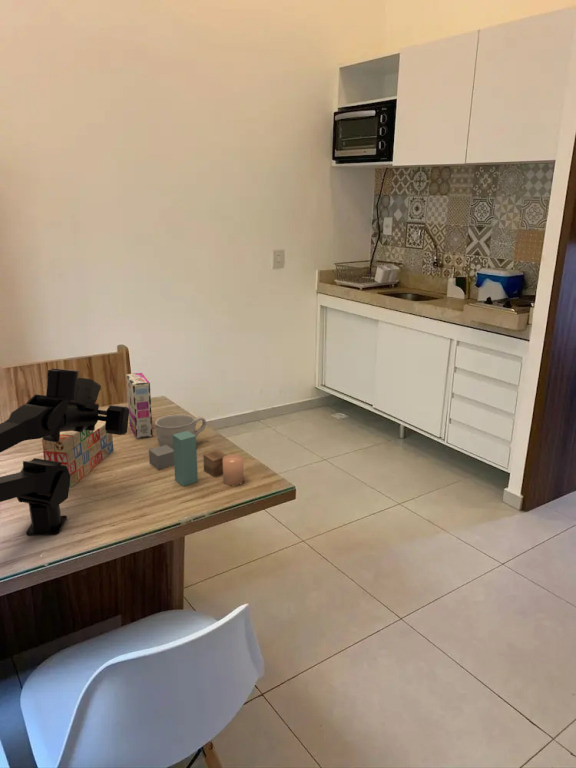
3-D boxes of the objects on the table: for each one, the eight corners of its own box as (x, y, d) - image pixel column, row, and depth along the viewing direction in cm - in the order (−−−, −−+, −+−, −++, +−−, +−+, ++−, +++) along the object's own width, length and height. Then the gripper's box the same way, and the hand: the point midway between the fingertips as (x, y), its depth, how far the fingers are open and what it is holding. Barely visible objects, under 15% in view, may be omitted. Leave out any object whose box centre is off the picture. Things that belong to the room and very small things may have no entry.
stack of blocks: (92, 449, 158) (88, 406, 154) (114, 451, 157) (110, 408, 153) (47, 485, 138) (40, 437, 134) (71, 488, 137) (65, 440, 133)
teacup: (157, 456, 154) (156, 428, 151) (155, 440, 163) (153, 414, 161) (210, 451, 157) (209, 423, 155) (204, 436, 167) (204, 410, 165)
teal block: (183, 486, 138) (181, 440, 134) (175, 480, 141) (172, 434, 137) (197, 481, 140) (195, 436, 137) (189, 475, 143) (187, 430, 140)
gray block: (158, 470, 146) (157, 456, 145) (149, 463, 150) (148, 449, 148) (176, 465, 149) (175, 451, 148) (167, 458, 153) (166, 444, 152)
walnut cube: (213, 477, 143) (213, 460, 141) (203, 470, 146) (203, 454, 145) (228, 472, 145) (228, 456, 144) (218, 466, 149) (218, 450, 147)
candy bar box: (154, 436, 166) (150, 382, 161) (136, 439, 164) (132, 384, 159) (145, 423, 176) (142, 371, 170) (129, 426, 174) (125, 373, 168)
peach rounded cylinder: (243, 485, 139) (243, 463, 137) (222, 486, 138) (222, 463, 136) (243, 476, 143) (243, 454, 142) (223, 476, 143) (222, 454, 141)
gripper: (110, 384, 121) (148, 385, 136) (36, 375, 126) (81, 377, 141) (105, 437, 121) (144, 432, 136) (31, 426, 126) (76, 422, 141)
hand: (110, 414), depth 139 cm, fingers open, 9 cm apart
